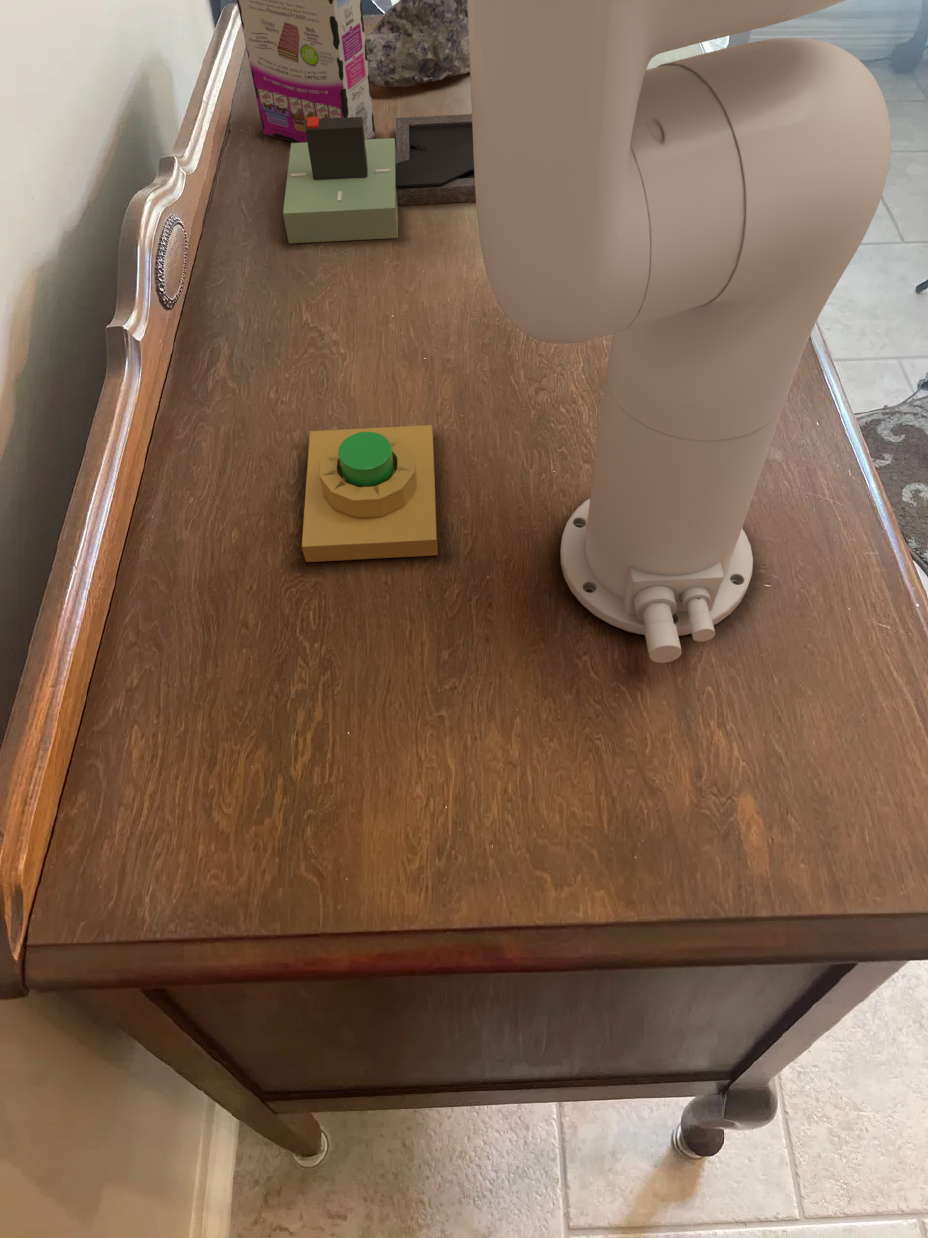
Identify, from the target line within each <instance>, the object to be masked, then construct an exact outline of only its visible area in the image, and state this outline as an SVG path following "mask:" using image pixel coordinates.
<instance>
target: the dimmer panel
mask: <svg viewBox="0 0 928 1238" xmlns="http://www.w3.org/2000/svg"><path fill="white" fill-rule="evenodd" d="M365 146H366V154H367V163H368V176H367V177H355V178H335V179H316V180H314V179H313V174H312V168H311V162H310V156H309V150H308V144H307V142H305V143H295V142H291V143H290V148H289V149H290V150H289V158H288V164H287V165H288V166H287V175H286V183H285V192H284V200H283V207H282V216H283V221H284V226H285V233H286V236H287V241H288V244H308V243H327V242H345V241H347V242H348V241H364V240H365V241H366V240H367V241H368V240H387V239H398V238H399V212H398V211H399V209H398V208H399V207H398V206H399V205H398V202H397V191H396V137H388V138H373V139H365Z"/></svg>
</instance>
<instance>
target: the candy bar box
mask: <svg viewBox="0 0 928 1238" xmlns="http://www.w3.org/2000/svg"><path fill="white" fill-rule="evenodd" d="M236 3H237V8H238V13H239V18H240V23H241V27H242V33H243V38H244V43H245V48H246V52H247V53H246V54H247V58H248V62H249V67H250V72H251V77H252V84H253V87H254V91H255V97H256V98H255V99H256V102H257V107H258V112H259V113H258V114H259V118H260V122H261V126H262V131H263V134H264V135H265V136H269V137H273V138H276V139H280V140H283V141H287V142H291V143H305V142H307V138H306V132H305V128H306V120H308V117H319V119H328V118H348V117H362V119H363V128H364V137H365V139H375V137H376V128H375V127H376V126H375V118H374V117H375V116H374V108H373V101H372V89H371V84H370V81H369V71H368V61H367V52H366V44H365V38H366V33H365V32H366V31H365V25H364V24H365V23H364V14H363V13H364V12H363V6H362V5H363V3H362V0H236Z"/></svg>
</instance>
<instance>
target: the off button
mask: <svg viewBox="0 0 928 1238" xmlns="http://www.w3.org/2000/svg"><path fill="white" fill-rule="evenodd" d="M338 455H339V460H340V466H341V471H342V475H343V477H344V478H345V479H346V480H347V481H348V482H349V483H351V484H353V485H355V486H359V487H372V486H376V485H379V484H381V483H383V482H385V481H386V480H387V479H388V478H389V477H390V476H391V474H392V472H393V469H394V463H393V455H392V447H391V444H390V442H389V441H388V439H387V438H385V437H384V436H383V435H381V434H378V433H375V432H360V433H356V434H353V435H351V436H349V437H348V438H346V439H345V440H344V441H343V442H342V443H341V445H340V447H339V451H338Z"/></svg>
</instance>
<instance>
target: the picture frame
mask: <svg viewBox="0 0 928 1238" xmlns="http://www.w3.org/2000/svg"><path fill="white" fill-rule="evenodd" d="M395 148H396V191H397V202H398V206H414V205H415V206H417V205H418V206H419V205H434V204H454V203H455V204H456V203H472V202H473V203H474V202H475V203H476V192H475V175H474V153H473V127H472V113H465V114H449V115H447V114H445V115H428V116H427V115H425V116H408V117H407V116H405V117H395Z"/></svg>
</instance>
